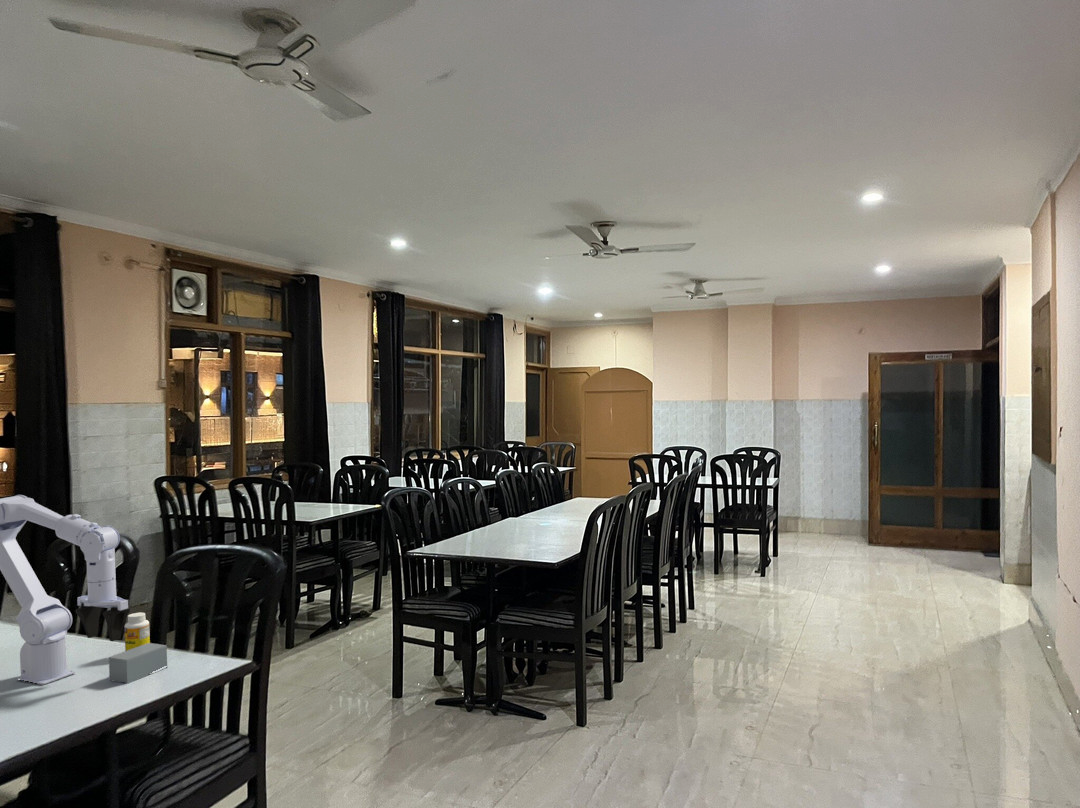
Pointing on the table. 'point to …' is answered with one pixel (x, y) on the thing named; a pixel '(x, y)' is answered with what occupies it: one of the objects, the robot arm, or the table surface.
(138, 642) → the supplement bottle
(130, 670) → the grey rectangular block
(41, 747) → the table surface
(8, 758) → the table surface
